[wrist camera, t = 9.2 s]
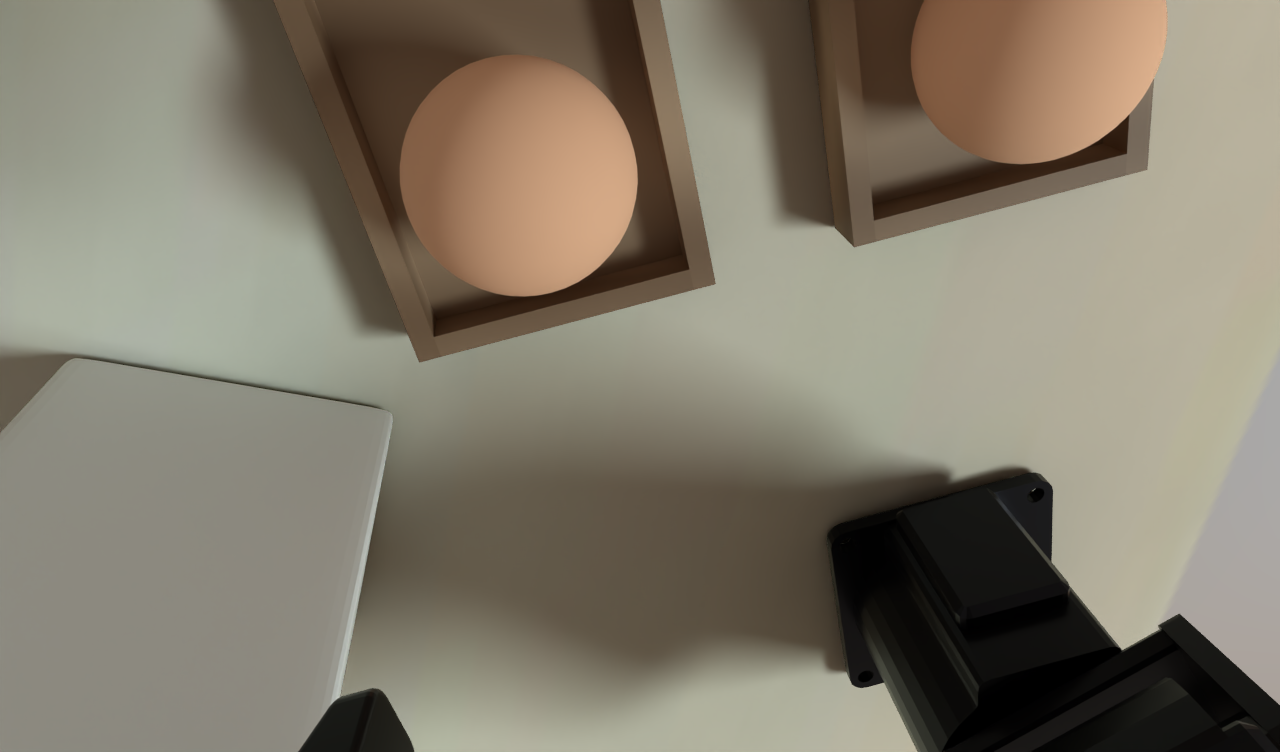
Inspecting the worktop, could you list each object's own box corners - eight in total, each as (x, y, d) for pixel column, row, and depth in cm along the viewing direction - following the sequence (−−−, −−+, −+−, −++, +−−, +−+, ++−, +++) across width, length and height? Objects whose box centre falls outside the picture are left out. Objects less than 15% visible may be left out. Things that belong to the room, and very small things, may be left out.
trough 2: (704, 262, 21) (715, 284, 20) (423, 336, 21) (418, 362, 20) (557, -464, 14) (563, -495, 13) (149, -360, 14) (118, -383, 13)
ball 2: (1074, 105, 20) (1212, 157, 16) (885, 156, 20) (978, 219, 16) (1080, -114, 18) (1242, -116, 14) (867, -58, 17) (970, -44, 14)
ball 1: (643, 219, 20) (677, 299, 16) (451, 270, 20) (438, 362, 16) (594, 12, 17) (621, 47, 14) (378, 69, 17) (344, 120, 14)
